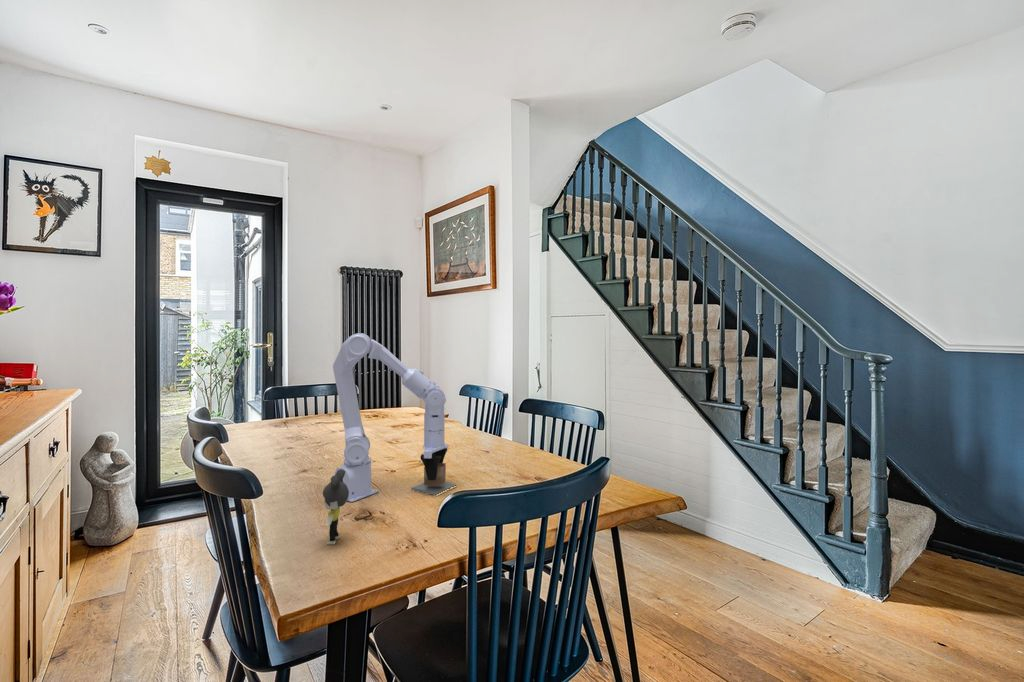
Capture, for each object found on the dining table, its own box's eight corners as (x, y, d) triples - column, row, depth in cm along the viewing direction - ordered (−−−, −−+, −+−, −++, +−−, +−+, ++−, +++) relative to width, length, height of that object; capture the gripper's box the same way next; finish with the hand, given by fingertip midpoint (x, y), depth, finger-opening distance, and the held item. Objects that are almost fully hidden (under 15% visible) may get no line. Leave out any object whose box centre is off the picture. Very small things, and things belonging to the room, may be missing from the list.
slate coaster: (436, 496, 136) (436, 493, 136) (411, 490, 141) (411, 487, 140) (456, 486, 144) (456, 484, 144) (432, 481, 148) (432, 479, 148)
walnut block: (441, 486, 139) (441, 468, 139) (423, 485, 140) (424, 467, 140) (445, 480, 144) (445, 463, 144) (428, 479, 145) (428, 462, 145)
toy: (329, 533, 112) (328, 467, 111) (354, 532, 112) (353, 466, 112) (317, 550, 103) (316, 479, 103) (344, 550, 104) (343, 478, 103)
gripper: (441, 435, 134) (441, 485, 134) (453, 424, 148) (453, 469, 149) (416, 434, 135) (416, 484, 135) (430, 423, 149) (430, 468, 149)
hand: (434, 476), depth 142 cm, fingers closed on walnut block, 5 cm apart
